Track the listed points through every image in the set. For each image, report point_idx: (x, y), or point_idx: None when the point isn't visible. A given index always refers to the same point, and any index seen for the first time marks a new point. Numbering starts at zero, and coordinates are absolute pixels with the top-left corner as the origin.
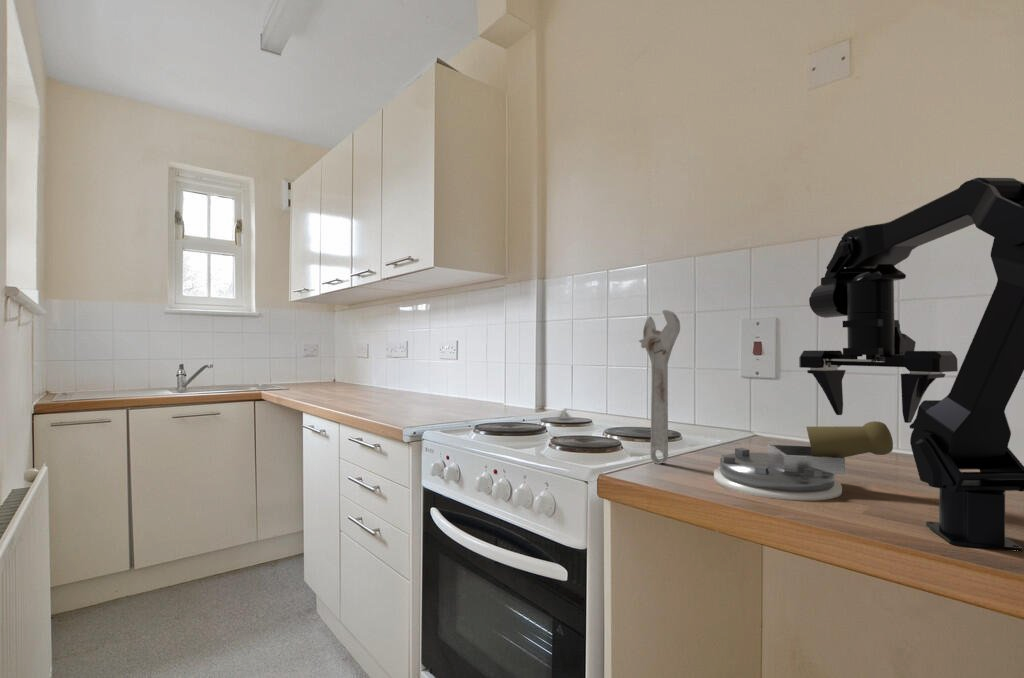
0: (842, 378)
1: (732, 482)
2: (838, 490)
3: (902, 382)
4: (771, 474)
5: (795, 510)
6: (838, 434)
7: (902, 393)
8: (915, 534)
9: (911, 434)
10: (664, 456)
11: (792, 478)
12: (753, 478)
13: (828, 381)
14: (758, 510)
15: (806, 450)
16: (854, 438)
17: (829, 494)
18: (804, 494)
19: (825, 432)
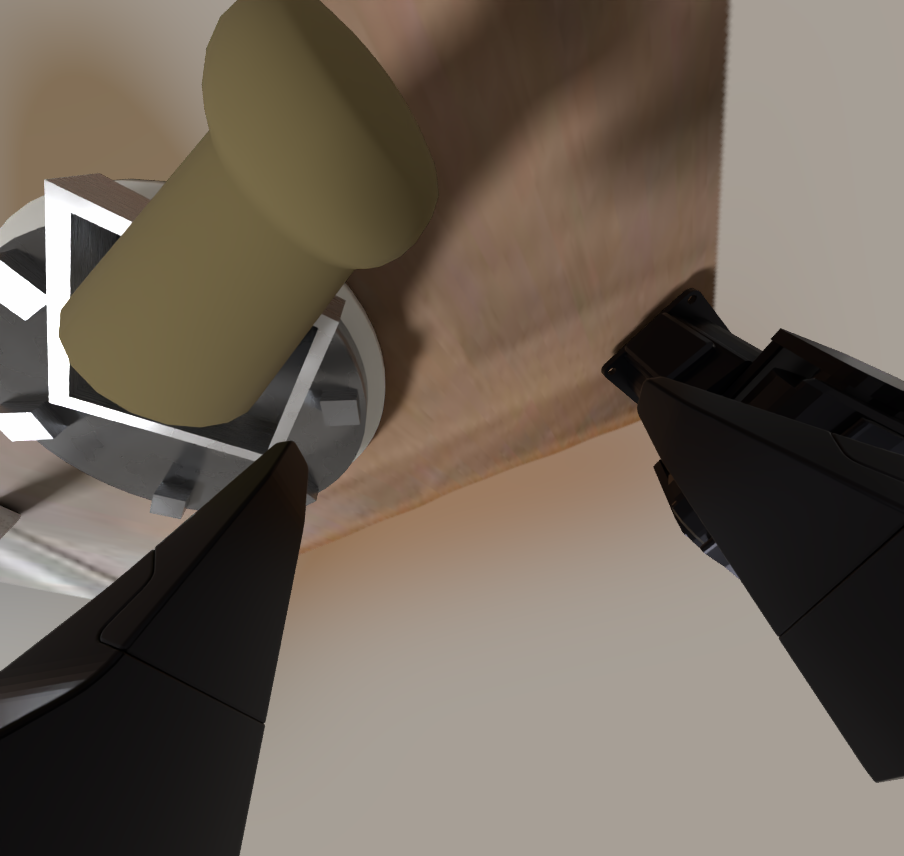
0: (57, 706)
1: None
2: (358, 315)
3: (819, 685)
4: (313, 475)
5: (412, 456)
6: (273, 353)
7: (750, 587)
8: (579, 371)
9: (694, 536)
10: (9, 527)
11: (354, 457)
12: None
13: (255, 741)
14: (394, 501)
15: (82, 267)
16: (324, 307)
17: (382, 366)
18: (369, 417)
19: (235, 386)
